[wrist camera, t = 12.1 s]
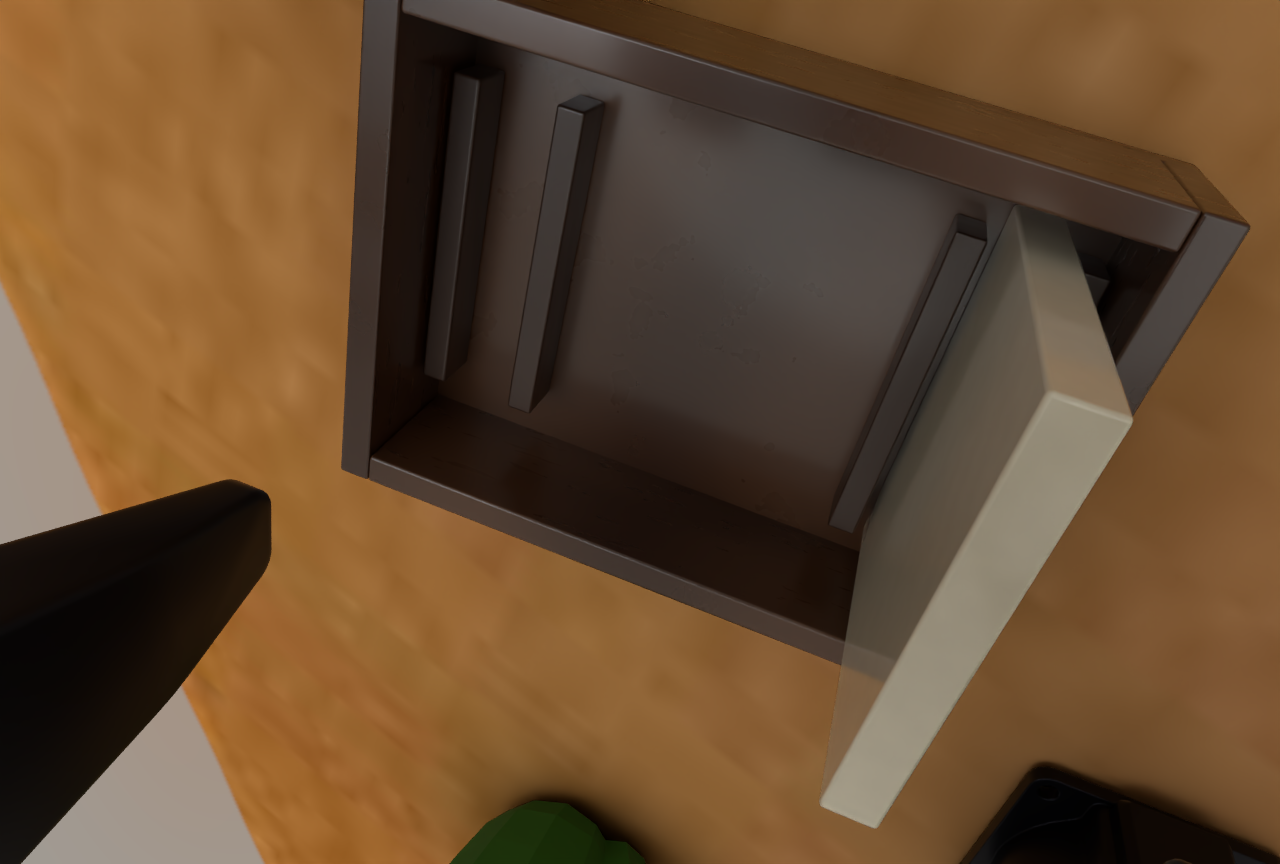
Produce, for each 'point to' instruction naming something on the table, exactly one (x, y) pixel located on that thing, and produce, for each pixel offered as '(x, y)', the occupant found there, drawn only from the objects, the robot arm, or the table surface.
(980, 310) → the cream coaster
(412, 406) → the coaster holder
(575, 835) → the bell pepper
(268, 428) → the table surface
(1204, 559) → the table surface
